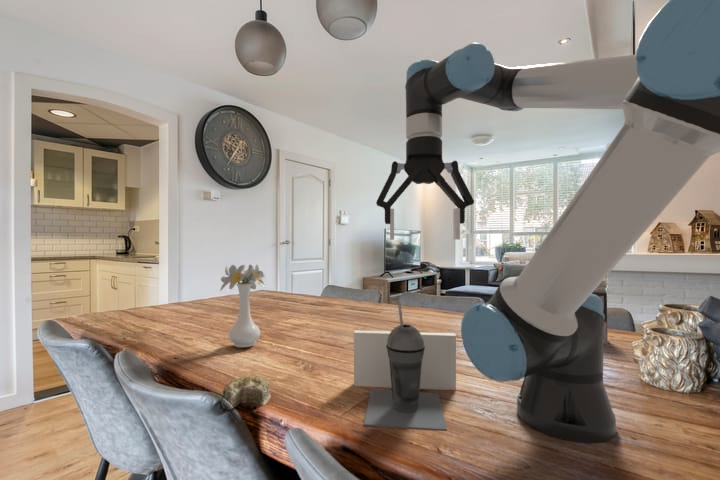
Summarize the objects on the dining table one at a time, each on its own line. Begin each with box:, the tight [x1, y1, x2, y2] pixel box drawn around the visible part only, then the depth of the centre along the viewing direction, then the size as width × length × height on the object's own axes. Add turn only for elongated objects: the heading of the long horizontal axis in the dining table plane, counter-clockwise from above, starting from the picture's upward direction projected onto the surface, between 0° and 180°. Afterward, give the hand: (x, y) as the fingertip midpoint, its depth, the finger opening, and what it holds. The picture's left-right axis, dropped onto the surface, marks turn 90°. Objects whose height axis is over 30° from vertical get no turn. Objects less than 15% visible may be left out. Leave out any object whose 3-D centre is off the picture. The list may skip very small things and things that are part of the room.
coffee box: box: [592, 289, 609, 345], centre depth 115 cm, size 9×6×16 cm
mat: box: [363, 389, 448, 431], centre depth 68 cm, size 14×14×1 cm
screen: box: [353, 329, 457, 391], centre depth 79 cm, size 22×2×12 cm, turn 83°
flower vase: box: [219, 264, 266, 348], centre depth 111 cm, size 13×18×25 cm
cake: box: [222, 376, 272, 408], centre depth 72 cm, size 10×10×5 cm
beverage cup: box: [386, 301, 425, 413], centre depth 68 cm, size 7×7×20 cm
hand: (424, 239), depth 76 cm, fingers open, 13 cm apart
